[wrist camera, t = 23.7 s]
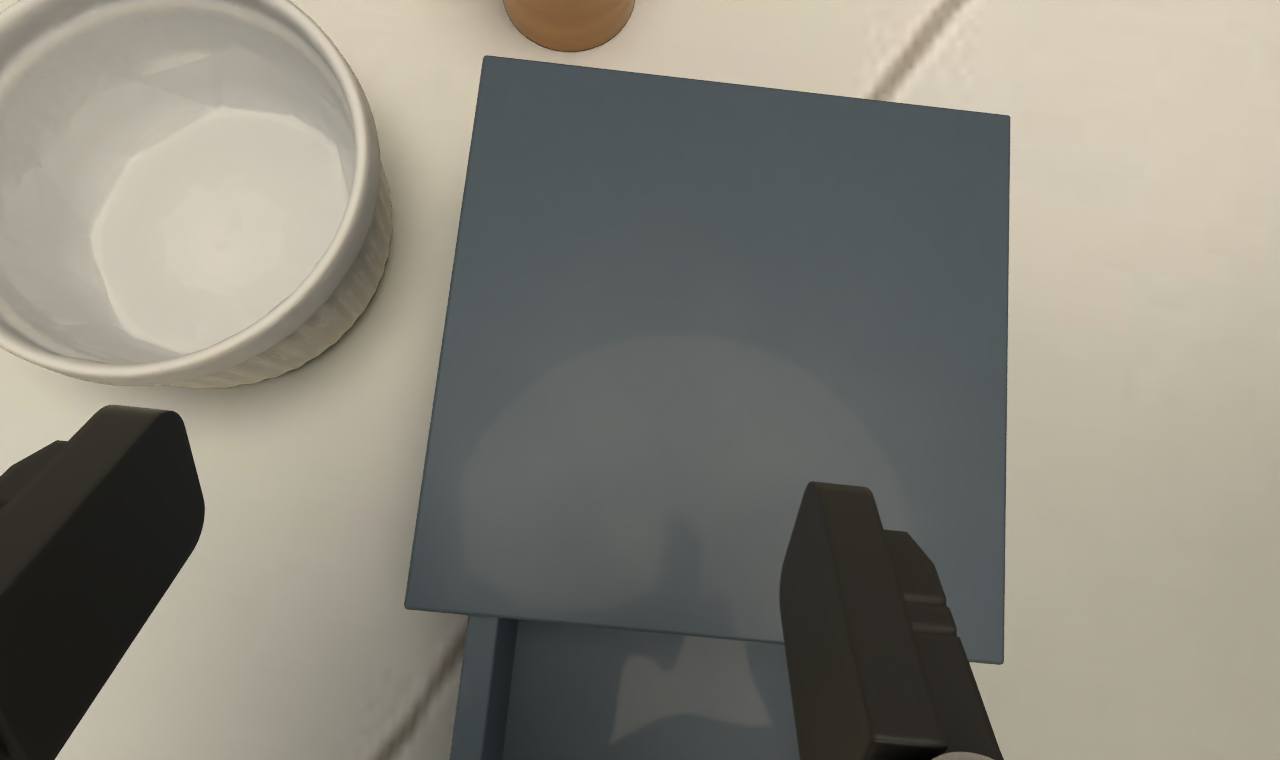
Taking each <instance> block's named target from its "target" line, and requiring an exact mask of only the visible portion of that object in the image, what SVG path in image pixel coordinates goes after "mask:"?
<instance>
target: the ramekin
mask: <svg viewBox="0 0 1280 760" xmlns="http://www.w3.org/2000/svg"><path fill="white" fill-rule="evenodd" d="M391 216H392V206H391V201H390V198H389V187H388V183H387V180H386V177H385V173H384V170H383V166H382V163H381V160H380V150H379V142H378V136H377V131H376V127H375V123H374V118H373V115H372V112H371V109H370V106H369V103H368V101H367V98H366V96H365V94H364V91H363V89H362V87H361V85H360V83H359V81H358V79H357V78H356V76H355V74H354V73H353V71H352V69H351V68H350V66H349V64H348V63H347V62H346V60H345V59H344V57H343V56H342V54H341V53H340V52H339V50H338V49H337V47H336V46H335V45H334V43H333V42H332V41H331V40H330V38H329V37H328V36H327V35H326V34H325V33H324V31H323V30H322V29H321V28H320V27H319V26H318V25H317V24H316V23H315V22H314V21H313V20H312V19H311V18H310V17H309V16H308V15H307V14H305V13H304V12H303V11H302V10H301V9H300V8H298V7H297V6H296V5H295V4H293V3H292V2H291V1H289V0H19V1H17V2H16V3H14V4H12V5H11V6H9V7H8V8H6V9H5V10H4V11H3V12H1V13H0V347H1V348H3V349H5V350H6V351H8V352H10V353H12V354H14V355H16V356H18V357H20V358H22V359H24V360H26V361H29V362H31V363H33V364H36V365H39V366H41V367H44V368H47V369H49V370H52V371H55V372H58V373H60V374H63V375H66V376H69V377H73V378H77V379H81V380H85V381H90V382H95V383H101V384H109V385H122V386H153V385H168V386H177V387H186V388H202V389H206V388H211V387H217V388H229V387H234V386H237V385H240V384H253V383H257V382H259V381H262V380H264V379H266V378H275V377H278V376H280V375H282V374H283V373H285V372H287V371H289V370H293V369H297V368H299V367H301V366H302V365H303V364H304V363H306V362H307V361H309V360H311V359H313V358H315V357H318V356H319V355H320V354H321V353H322V352H323V351H324V350H325V349H327V348H328V347H329V346H331V345H333V344H335V343H336V342H337V341H338V340H339V339H340V338H341V336H342V335H343V334H344V333H345V332H346V331H347V330H349V329H350V328H351V327H352V326H353V324H354V322H355V321H356V319H357V318H358V316H359V315H360V314H361V313H362V312H363V311H364V310H365V309H366V307H367V305H368V303H369V300H370V299H371V297H372V296H373V295H374V293H375V292H376V289H377V285H378V283H379V280H380V279H381V277H382V275H383V273H384V268H385V263H386V260H387V258H388V255H389V252H390V249H389V243H390V239H391V236H392V226H391V222H390V221H391Z"/></svg>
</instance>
